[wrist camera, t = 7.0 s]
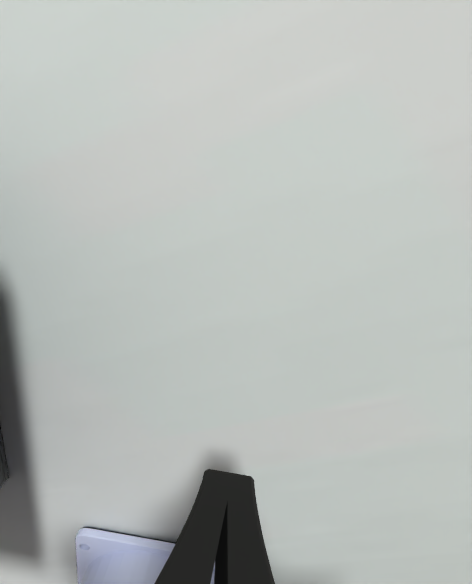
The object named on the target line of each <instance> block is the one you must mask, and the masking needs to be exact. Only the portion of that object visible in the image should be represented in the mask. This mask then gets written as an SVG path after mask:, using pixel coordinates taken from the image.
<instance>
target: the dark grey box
mask: <svg viewBox="0 0 472 584" xmlns="http://www.w3.org/2000/svg"><path fill="white" fill-rule="evenodd" d="M8 478H9V475H8V469H7V463H6V457H5V451H4V445H3V439H2V433H1V427H0V488H1V487H2V486H3V484H4V483H5V482H6V480H7V479H8Z"/></svg>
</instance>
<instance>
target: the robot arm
mask: <svg viewBox="0 0 472 584" xmlns="http://www.w3.org/2000/svg"><path fill="white" fill-rule="evenodd" d="M75 542H76V558H77V575H78V584H275V582H274V579H273V575H272V572H271V568H270V564H269V560H268V556H267V552H266V548H265V544H264V539H263V535H262V530H261V525H260V520H259V515H258V510H257V504H256V497H255V488H254V480H253V478H252V477H251V476H245V475H240V474H234V473H228V472H222V471H217V470H211V469H208V470H206V471H205V472H204V476H203V480H202V483H201V486H200V489H199V492H198V495H197V498H196V500H195V503H194V505H193V508H192V510H191V512H190V515H189V517H188V519H187V521H186V523H185V525H184V528H183V530H182V532H181V534H180V536H179V538H178V540H177V542H176V544H174V543H169V542H163V541H158V540H152V539H147V538H141V537H136V536H130V535H124V534H119V533H113V532H108V531H102V530H97V529H91V528H82V529H80V530H79V531H78V533H77V535H76V538H75Z"/></svg>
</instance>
